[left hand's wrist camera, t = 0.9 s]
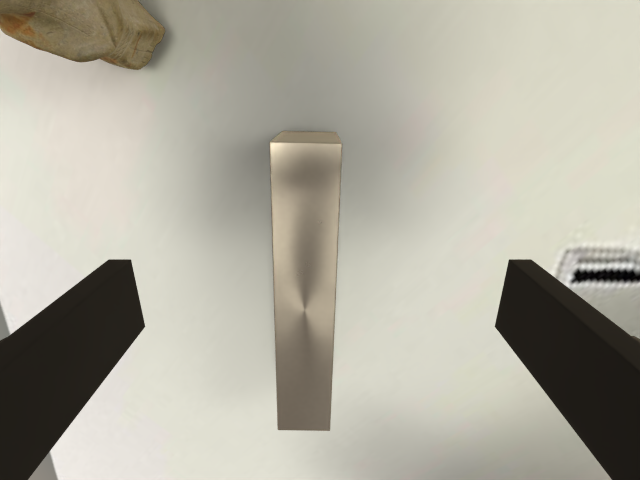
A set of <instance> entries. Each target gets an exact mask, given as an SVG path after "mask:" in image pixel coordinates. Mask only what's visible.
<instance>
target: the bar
mask: <svg viewBox="0 0 640 480" xmlns="http://www.w3.org/2000/svg"><path fill="white" fill-rule="evenodd" d="M341 159H342V143H341V141H340V139H339V137H338V135H337V133H336V132H306V131H282V132H281V133H280V134H279V135H277V136H276V137H275V138H274V139H273V140H271V141H270V176H271V211H272V246H273V281H274V316H275V351H276V386H277V421H278V430H316V431H330V418H331V395H332V371H333V348H334V324H335V301H336V277H337V253H338V230H339V206H340V183H341Z"/></svg>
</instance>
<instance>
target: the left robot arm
mask: <svg viewBox="0 0 640 480" xmlns="http://www.w3.org/2000/svg"><path fill="white" fill-rule="evenodd" d="M144 327H145V324H144V319H143V314H142V310H141V305H140V300H139V296H138V291H137V286H136V281H135V277H134V272H133V267H132V262H131V260H108V261H106V262H105V263H104V264H102V265H101V266H100V267H99V268H97V269H96V270H95V271H93V272H92V273H91V274H89V275H88V276H87V277H85V278H84V279H83V280H82V281H80V282H79V283H78V284H76V285H75V286H74V287H72V288H71V289H70V290H68V291H67V292H66V293H65V294H63V295H62V296H61V297H59V298H58V299H57V300H55V301H54V302H53V303H51V304H50V305H49V306H48V307H46V308H45V309H44V310H42V311H41V312H40V313H38V314H37V315H36V316H35V317H33V318H32V319H31V320H29V321H28V322H27V323H25V324H24V325H23V326H21V327H20V328H19V329H18V330H16V331H15V332H14V333H12V334H11V335H10V336H8V337H6V338H4V339H2V340H1V341H0V480H28V479H29V477H30V476H31V475H32V474H33V472H34V471H35V470H36V468H37V467H38V466H39V464H40V463H41V462H42V460H43V459H44V458H45V457H46V455H47V454H48V453H49V451H50V450H51V449H52V447H53V446H54V445H55V444H56V442H57V441H58V440H59V438H60V437H61V436H62V434H63V433H64V432H65V430H66V429H67V428H68V427H69V425H70V424H71V423H72V421H73V420H74V419H75V417H76V416H77V415H78V413H79V412H80V411H81V410H82V408H83V407H84V406H85V404H86V403H87V402H88V400H89V399H90V398H91V396H92V395H93V394H94V393H95V391H96V390H97V389H98V387H99V386H100V385H101V383H102V382H103V381H104V380H105V378H106V377H107V376H108V374H109V373H110V372H111V370H112V369H113V368H114V366H115V365H116V364H117V363H118V361H119V360H120V359H121V357H122V356H123V355H124V353H125V352H126V351H127V349H128V348H129V347H130V346H131V344H132V343H133V342H134V340H135V339H136V338H137V336H138V335H139V334H140V332H141V331H142V330H143V329H144ZM495 327H496V329H497V330H498V331H499V332H500V334H501V335H502V336H503V338H504V339H505V340H506V342H507V343H508V344H509V346H510V347H511V348H512V349H513V351H514V352H515V353H516V355H517V356H518V357H519V359H520V360H521V361H522V363H523V364H524V365H525V366H526V368H527V369H528V370H529V372H530V373H531V374H532V376H533V377H534V378H535V380H536V381H537V382H538V383H539V385H540V386H541V387H542V389H543V390H544V391H545V393H546V394H547V395H548V396H549V398H550V399H551V400H552V402H553V403H554V404H555V406H556V407H557V408H558V410H559V411H560V412H561V413H562V415H563V416H564V417H565V419H566V420H567V421H568V423H569V424H570V425H571V427H572V428H573V429H574V430H575V432H576V433H577V434H578V436H579V437H580V438H581V440H582V441H583V442H584V444H585V445H586V446H587V447H588V449H589V450H590V451H591V453H592V454H593V455H594V457H595V458H596V459H597V461H598V462H599V463H600V464H601V466H602V467H603V468H604V470H605V471H606V472H607V474H608V475H609V476H610V477H611V479H612V480H640V339H639V338H637V337H635V336H630V335H629V334H628V333H626V332H625V331H624V330H622V329H621V328H620V327H619V326H617V325H616V324H615V323H613V322H612V321H611V320H609V319H608V318H607V317H605V316H604V315H603V314H602V313H600V312H599V311H598V310H596V309H595V308H594V307H592V306H591V305H590V304H588V303H587V302H586V301H585V300H583V299H582V298H581V297H579V296H578V295H577V294H575V293H574V292H573V291H572V290H570V289H569V288H568V287H566V286H565V285H564V284H562V283H561V282H560V281H558V280H557V279H556V278H555V277H553V276H552V275H551V274H549V273H548V272H547V271H545V270H544V269H543V268H541V267H540V266H539V265H538V264H536V263H535V262H534V261H532V260H509V262H508V267H507V272H506V277H505V281H504V286H503V291H502V296H501V300H500V305H499V310H498V314H497V319H496V324H495Z"/></svg>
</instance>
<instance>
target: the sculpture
mask: <svg viewBox="0 0 640 480" xmlns="http://www.w3.org/2000/svg"><path fill="white" fill-rule="evenodd" d="M0 28H1V30H2V31H3V32H4V33H5V34H6V35H8V36H10V37H12V38H14V39H16V40H19V41H21V42H23V43H26V44H28V45H30V46H32V47H34V48H36V49H39V50H43V51H46V52H50V53H52V54H55V55H58V56H61V57H64V58H66V59H69V60H72V61H76V62H88V61H93V60H97V59H101V60H103V61H106V62H108V63H111V64H114V65H117V66H120V67H124V68H128V69H134V70H139V69H141V68H142V67H143V66H146V65H147V63H148V62H149V61H150V59H151V57H152V52H153V50H154V48H155V46H156V44H158V43H160V42H161V40H162V37H163V35H164V33H165V29H164V27H163V26H162V25H161V24H160V23H159V22H158V21H156V20H155V19H154V18H153V17H152V16H151V15H150V14H149V13H148V12H147V11H146V10H145V9H144V7H143V6H142V5H141V4H140V3H139V2H138V1H137V0H0Z"/></svg>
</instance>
